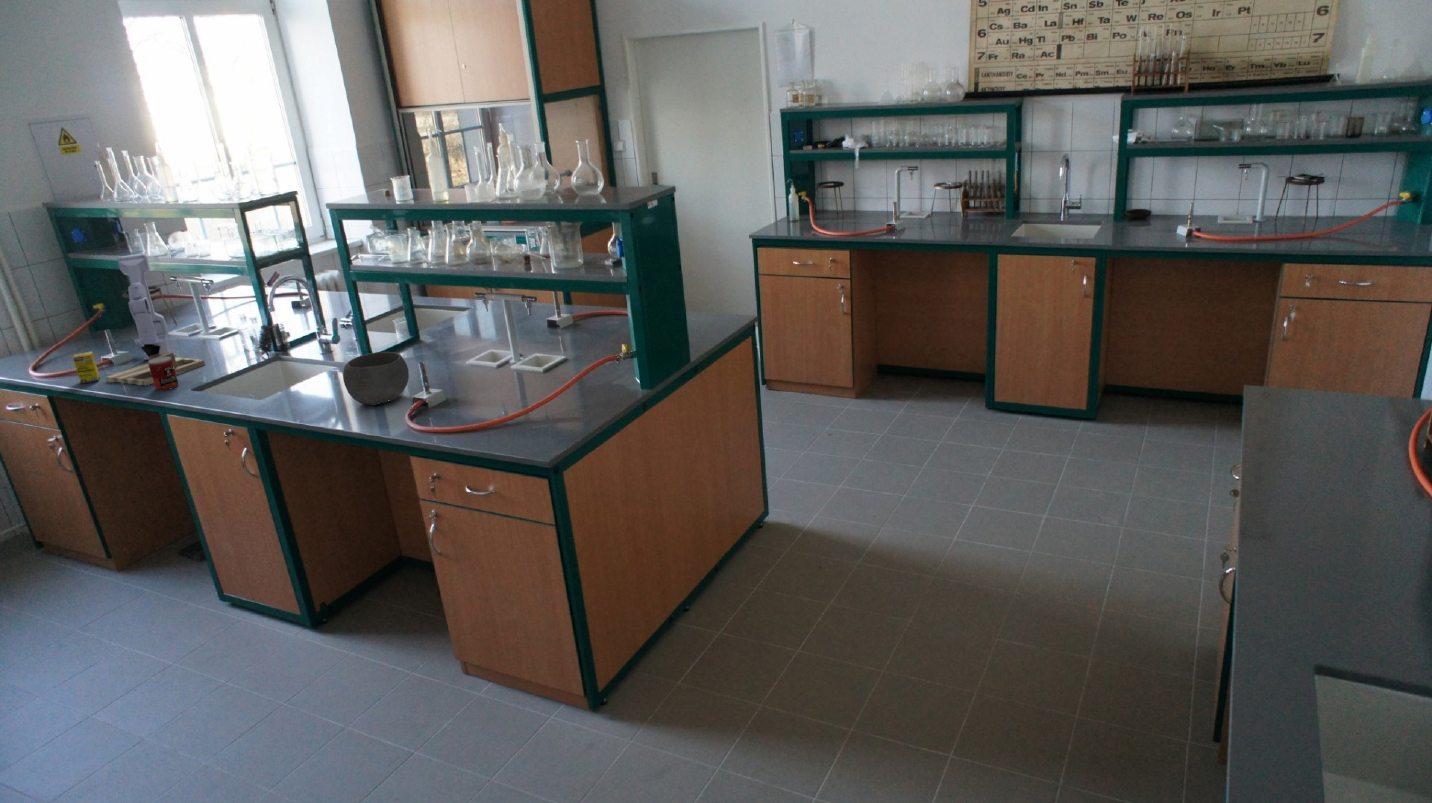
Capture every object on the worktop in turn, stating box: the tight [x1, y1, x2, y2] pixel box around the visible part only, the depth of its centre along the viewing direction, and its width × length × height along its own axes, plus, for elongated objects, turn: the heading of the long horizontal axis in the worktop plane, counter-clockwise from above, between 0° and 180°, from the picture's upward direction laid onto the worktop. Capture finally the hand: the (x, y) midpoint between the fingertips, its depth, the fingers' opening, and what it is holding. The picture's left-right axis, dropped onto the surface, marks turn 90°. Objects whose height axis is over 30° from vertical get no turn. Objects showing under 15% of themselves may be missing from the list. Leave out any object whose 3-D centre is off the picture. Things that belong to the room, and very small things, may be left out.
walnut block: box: [149, 351, 177, 368], centre depth 362 cm, size 6×6×6 cm
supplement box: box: [72, 351, 101, 385], centre depth 359 cm, size 6×6×11 cm
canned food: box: [147, 356, 179, 391], centre depth 346 cm, size 8×8×11 cm
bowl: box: [342, 351, 410, 406], centre depth 316 cm, size 21×21×15 cm
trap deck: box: [105, 356, 206, 386], centre depth 365 cm, size 22×26×2 cm
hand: (155, 362), depth 364 cm, fingers closed
